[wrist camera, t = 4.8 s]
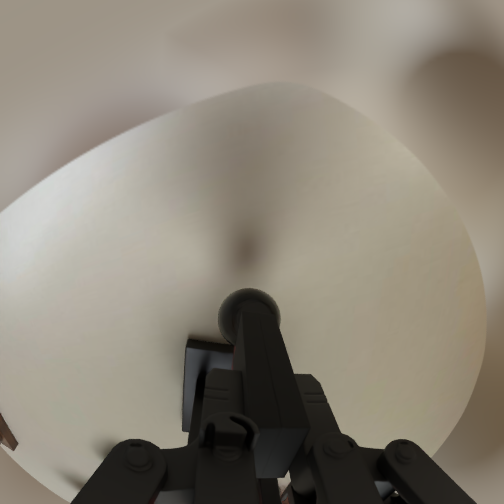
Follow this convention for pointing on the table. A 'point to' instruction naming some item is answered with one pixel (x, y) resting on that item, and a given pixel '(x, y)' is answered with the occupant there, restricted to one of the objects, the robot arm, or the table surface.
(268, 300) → the ball knob lever
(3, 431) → the button block
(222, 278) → the table surface
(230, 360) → the black bracket
